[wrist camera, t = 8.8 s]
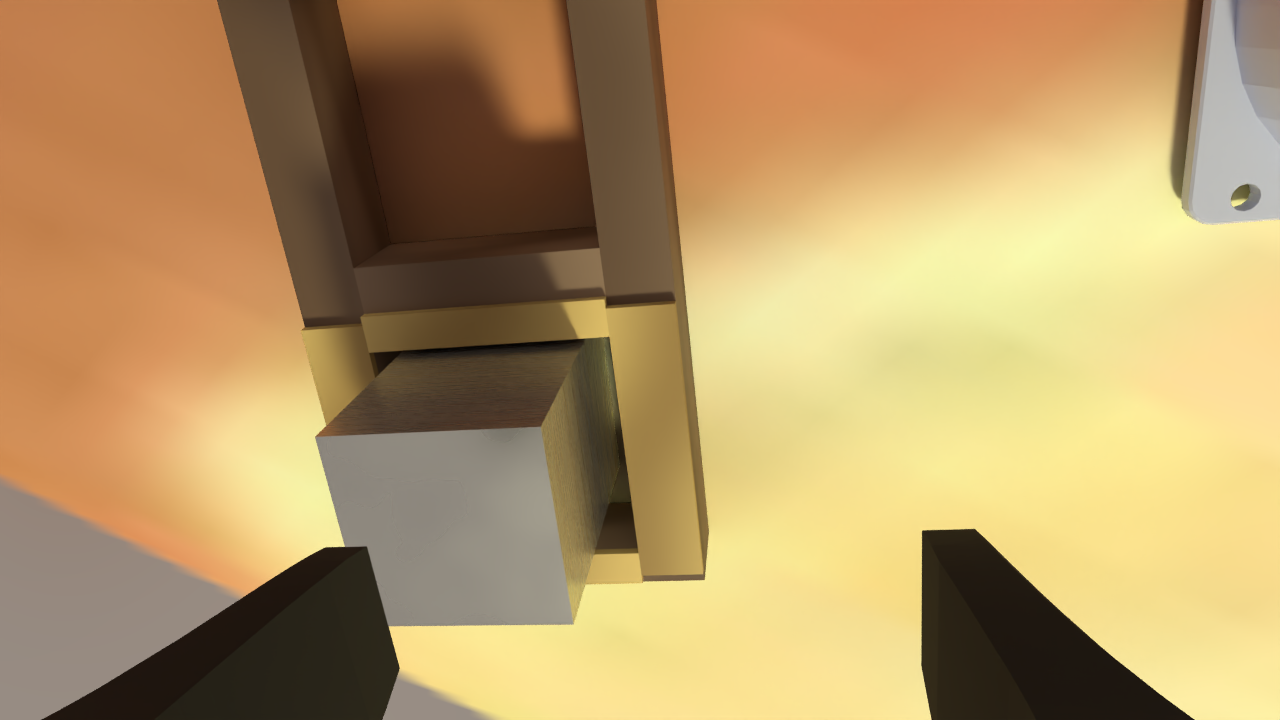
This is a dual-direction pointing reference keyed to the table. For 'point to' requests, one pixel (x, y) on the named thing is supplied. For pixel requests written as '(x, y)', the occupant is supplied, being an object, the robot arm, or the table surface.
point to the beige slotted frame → (495, 254)
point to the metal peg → (478, 480)
